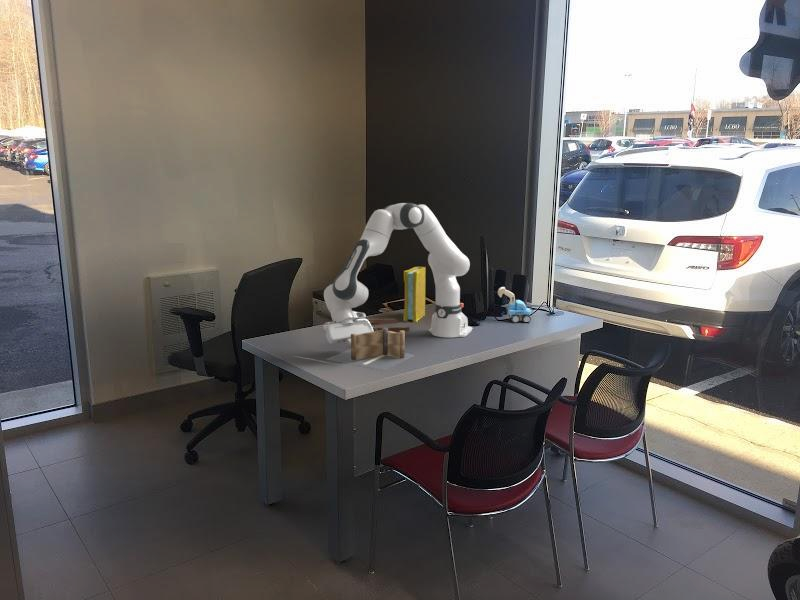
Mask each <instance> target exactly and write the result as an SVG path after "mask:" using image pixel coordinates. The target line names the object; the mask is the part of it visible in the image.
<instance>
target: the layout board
mask: <svg viewBox="0 0 800 600" xmlns="http://www.w3.org/2000/svg"><path fill="white" fill-rule="evenodd" d="M415 356H416V354H411V353H406V352H405V358H400V357H395V356H389V355H378V356H373V357H368V358H364V359H359V360H352V359H351V348H349V349H347V350H344V351H342V352H340V353H337V354H335V355H332V356H330V357H327V358H325V360H327V361H332V362H337V363H342V364H347V365H352V366H358V367H363V368H367V369H374V370H378V371H382V372H384V371H387V370H388V369H389V370H390V369H391V368H393V367H395V366H397V365H399V364H402V363H403V362H405V361H407V360H409V359H411V358H413V357H415Z"/></svg>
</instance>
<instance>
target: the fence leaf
mask: <svg viewBox="0 0 800 600" xmlns="http://www.w3.org/2000/svg"><path fill="white" fill-rule="evenodd" d="M350 349H351V359H352V360H359V359H364V358H368V357H373V356H378V355H383V330H379V331H374V332H368V333H363V334H357V335H356V334H351V347H350Z"/></svg>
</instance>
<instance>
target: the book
mask: <svg viewBox="0 0 800 600" xmlns="http://www.w3.org/2000/svg"><path fill="white" fill-rule="evenodd" d="M403 282H404V311H403V322H409V321H410V320H412V322H413V323H417V322H419V321H420V320H421V319H422V318H424V317H425V316H426V266H414V267H412V268H409V269H407V270H403ZM423 316H424V317H423ZM418 320H419V321H418Z"/></svg>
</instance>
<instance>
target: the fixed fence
mask: <svg viewBox="0 0 800 600" xmlns="http://www.w3.org/2000/svg"><path fill="white" fill-rule="evenodd" d="M382 330H383V355H389V356H395V357H400V358H405V353H406V352H405V351H406V350H405V349H406V348H405V345H406V343H405V340H406V337H405V336H406V335H405V334H406V331H400V332H391V331H388V328H382Z"/></svg>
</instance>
